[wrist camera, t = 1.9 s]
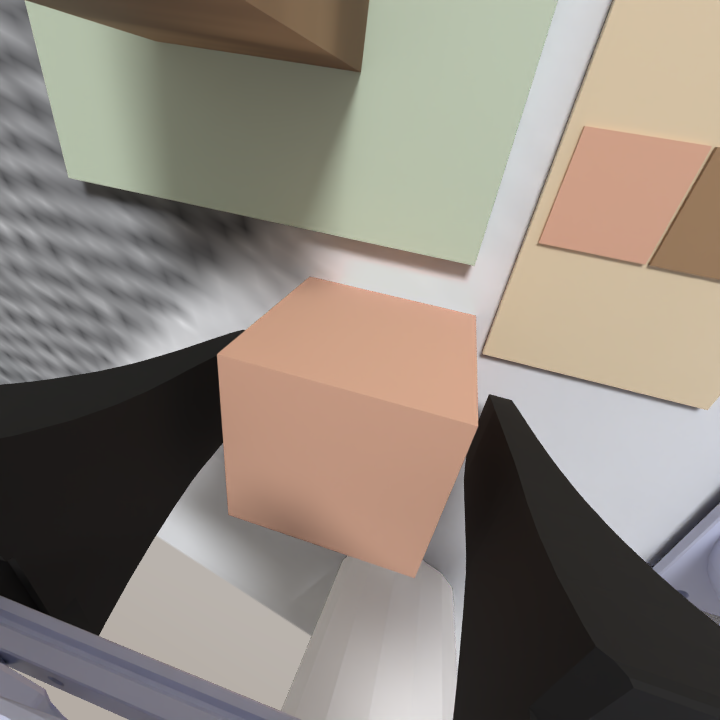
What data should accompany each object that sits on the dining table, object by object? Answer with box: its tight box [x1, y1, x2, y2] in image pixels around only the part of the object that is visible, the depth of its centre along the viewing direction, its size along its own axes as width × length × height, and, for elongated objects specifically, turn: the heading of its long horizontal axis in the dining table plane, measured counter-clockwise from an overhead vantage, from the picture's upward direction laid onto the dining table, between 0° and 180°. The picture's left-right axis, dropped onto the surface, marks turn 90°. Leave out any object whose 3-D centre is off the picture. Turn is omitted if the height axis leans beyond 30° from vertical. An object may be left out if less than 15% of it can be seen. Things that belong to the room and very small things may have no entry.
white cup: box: [281, 556, 457, 720], centre depth 15 cm, size 7×7×7 cm
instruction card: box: [482, 0, 720, 410], centre depth 8 cm, size 6×9×1 cm, turn 171°
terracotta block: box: [217, 277, 478, 578], centre depth 10 cm, size 5×5×5 cm
